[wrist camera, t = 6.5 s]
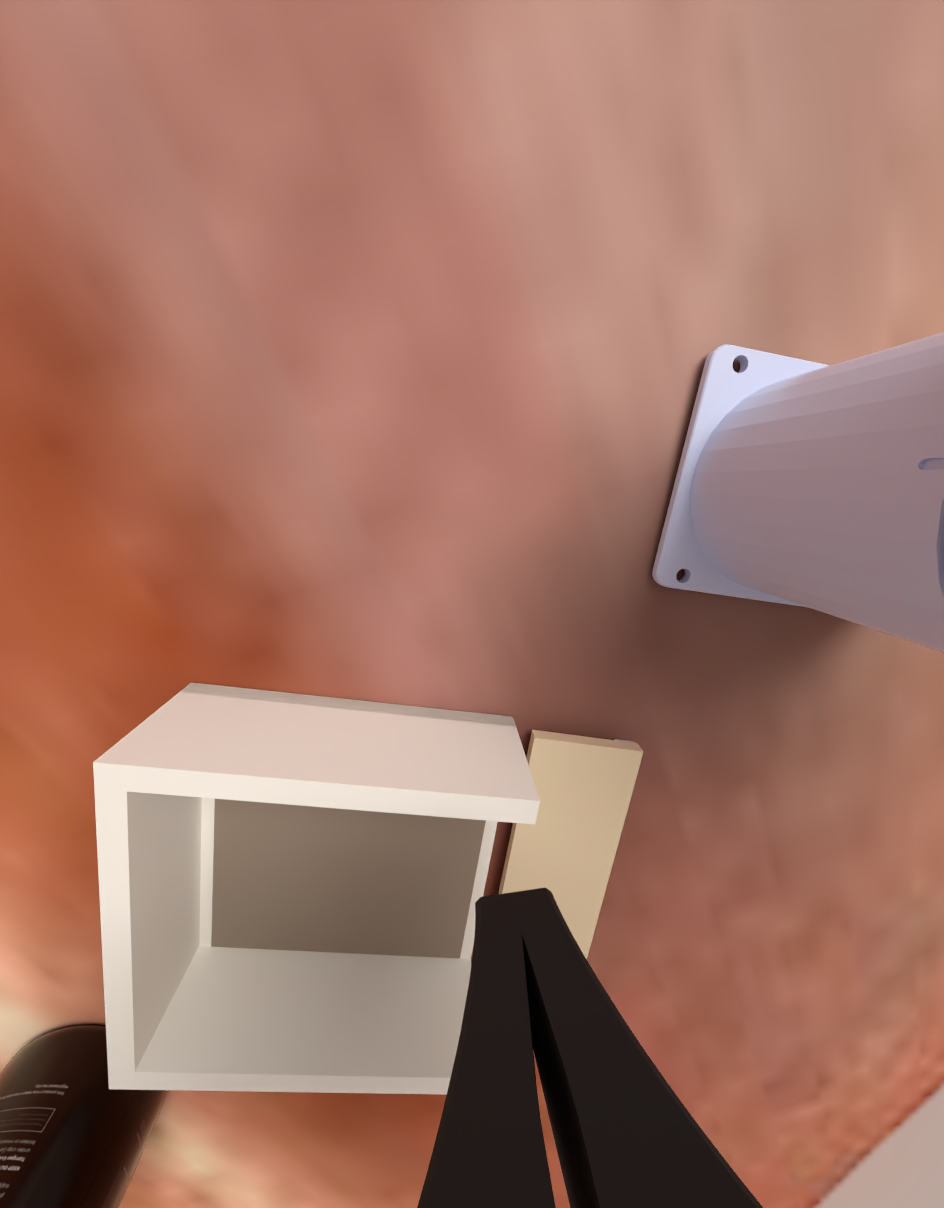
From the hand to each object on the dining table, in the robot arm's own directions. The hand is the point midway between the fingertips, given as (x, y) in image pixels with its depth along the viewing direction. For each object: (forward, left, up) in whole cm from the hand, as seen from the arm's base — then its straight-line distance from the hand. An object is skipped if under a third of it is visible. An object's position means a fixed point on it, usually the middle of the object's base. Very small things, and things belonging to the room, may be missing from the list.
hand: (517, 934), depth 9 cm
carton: (+4, +6, -10) cm, 12 cm away
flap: (-2, +6, -9) cm, 11 cm away
